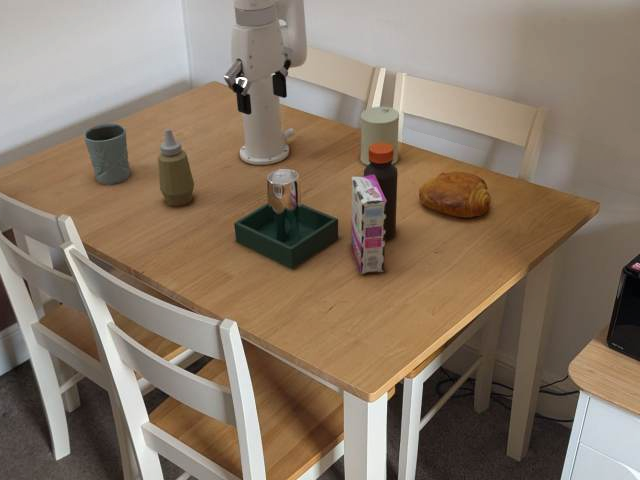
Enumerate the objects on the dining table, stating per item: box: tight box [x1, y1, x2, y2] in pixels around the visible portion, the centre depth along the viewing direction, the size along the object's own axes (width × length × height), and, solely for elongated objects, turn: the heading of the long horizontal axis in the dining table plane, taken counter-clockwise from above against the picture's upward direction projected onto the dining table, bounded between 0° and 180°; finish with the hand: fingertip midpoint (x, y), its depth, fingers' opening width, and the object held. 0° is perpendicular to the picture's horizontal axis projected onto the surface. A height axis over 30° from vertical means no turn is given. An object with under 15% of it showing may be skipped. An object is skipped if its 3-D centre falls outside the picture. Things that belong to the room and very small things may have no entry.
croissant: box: [418, 170, 491, 219], centre depth 176 cm, size 14×16×8 cm
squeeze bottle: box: [157, 128, 195, 207], centre depth 183 cm, size 8×8×18 cm
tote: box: [233, 202, 340, 270], centre depth 170 cm, size 15×17×5 cm
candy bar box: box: [350, 175, 387, 275], centre depth 159 cm, size 11×5×16 cm, turn 5°
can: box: [359, 106, 400, 166], centre depth 193 cm, size 9×9×12 cm
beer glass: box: [266, 168, 302, 246], centre depth 167 cm, size 7×7×15 cm
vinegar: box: [363, 143, 398, 241], centre depth 165 cm, size 7×7×20 cm
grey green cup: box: [83, 123, 131, 185], centre depth 198 cm, size 10×10×12 cm
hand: (262, 104), depth 156 cm, fingers open, 9 cm apart
